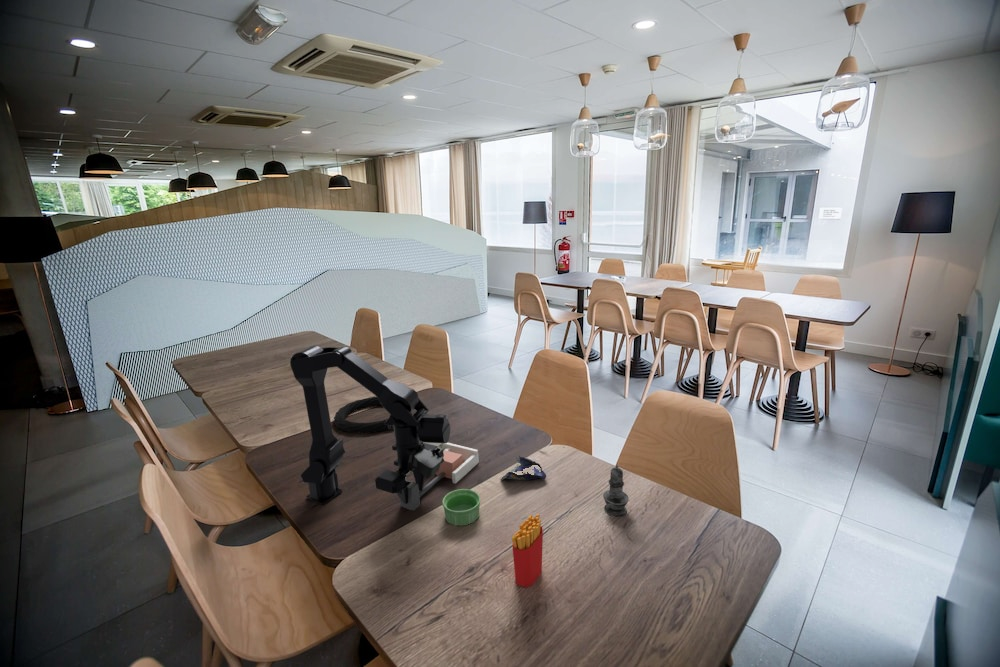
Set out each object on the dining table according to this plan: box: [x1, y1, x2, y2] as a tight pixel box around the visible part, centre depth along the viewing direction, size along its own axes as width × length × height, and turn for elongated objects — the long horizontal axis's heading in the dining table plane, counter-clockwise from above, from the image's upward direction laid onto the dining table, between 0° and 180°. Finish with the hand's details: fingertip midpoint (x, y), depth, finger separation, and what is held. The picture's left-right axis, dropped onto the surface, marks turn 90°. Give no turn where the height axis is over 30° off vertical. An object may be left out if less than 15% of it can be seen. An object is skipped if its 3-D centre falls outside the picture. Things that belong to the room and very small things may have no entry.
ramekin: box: [442, 488, 481, 527], centre depth 107 cm, size 9×9×4 cm
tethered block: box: [399, 450, 464, 512], centre depth 118 cm, size 21×6×6 cm, turn 152°
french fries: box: [511, 513, 544, 588], centre depth 87 cm, size 8×4×12 cm, turn 146°
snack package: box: [501, 455, 547, 481], centre depth 122 cm, size 12×6×12 cm
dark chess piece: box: [603, 464, 629, 518], centre depth 106 cm, size 6×6×12 cm
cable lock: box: [333, 396, 394, 434], centre depth 162 cm, size 28×4×30 cm
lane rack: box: [443, 441, 480, 484], centre depth 129 cm, size 12×19×4 cm, turn 61°
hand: (413, 496), depth 112 cm, fingers open, 6 cm apart
